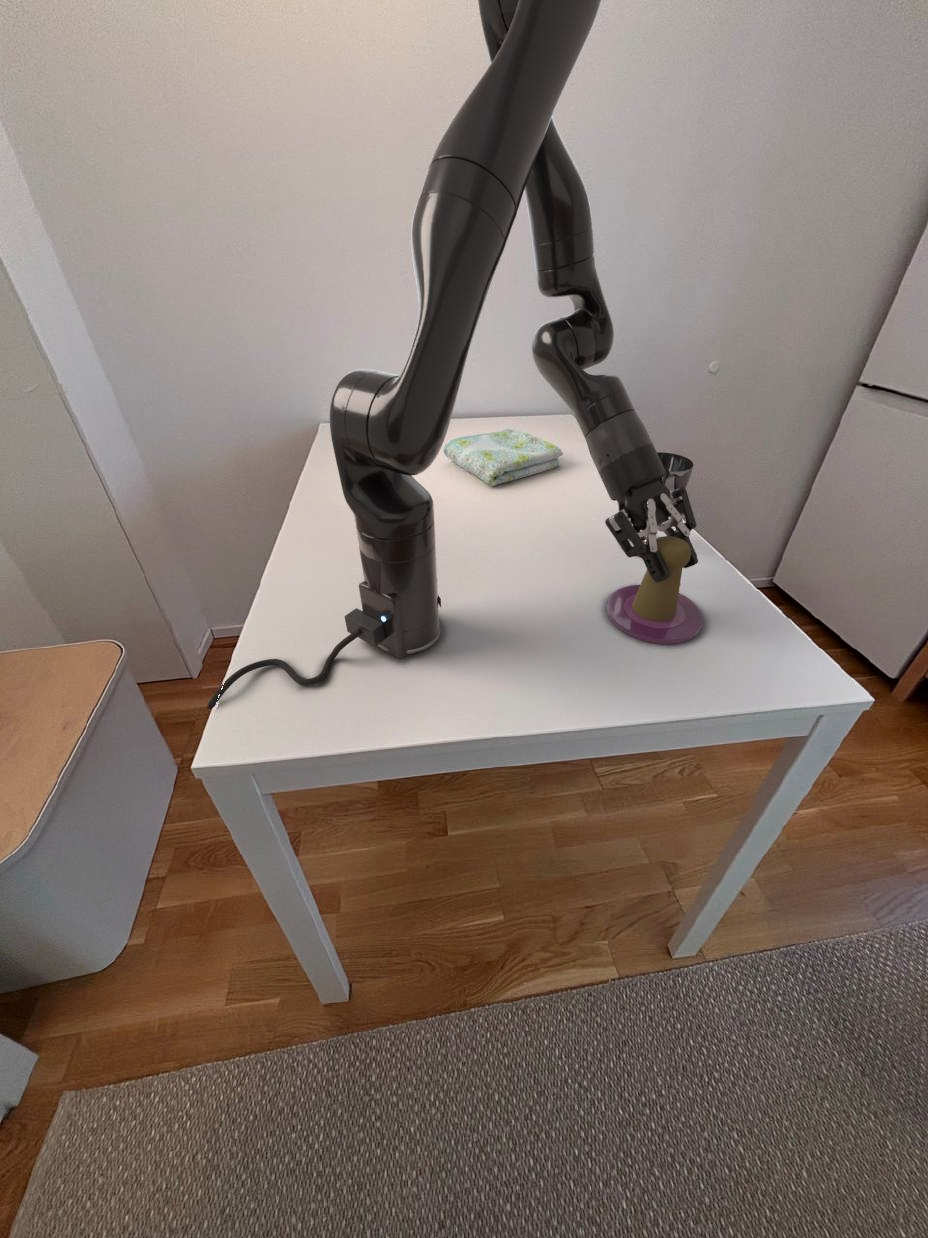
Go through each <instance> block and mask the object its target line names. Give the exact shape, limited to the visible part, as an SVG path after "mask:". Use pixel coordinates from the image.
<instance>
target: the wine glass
mask: <svg viewBox="0 0 928 1238" xmlns="http://www.w3.org/2000/svg"><path fill="white" fill-rule="evenodd" d="M656 452H657V451H656ZM657 454H658V456H659V458H660V460H661V463H662V465H663V467H664V469H665V476H664V477H663V478H662V481H663V483H664V485H665V486H666V487H667V488H668V489H669V490H676V489H678V488H680V487H685V489H686V490H687V486H688V484H689V482H690V479H691V476H692V474H693V469H694V462H693V461H692V460H691V459H690V458H688V457H686V456H683V455H681V454H678V453H677V454H676V453H671V452H664V451H663V452H661V451H660V452H657ZM627 540H628V541H629V543H630V544H631V546H632V547H633V546H634V545H633V544H632V542H631V541H630V540H629V539H627ZM645 544H647V541H646V539H645Z"/></svg>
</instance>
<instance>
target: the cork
mask: <svg viewBox="0 0 928 1238" xmlns="http://www.w3.org/2000/svg"><path fill="white" fill-rule="evenodd" d="M656 542H657V551H656V552H658V551H660V553H661V555H662V557H663V560H664V562H665V564H666V566H667V568H668V571H669V573H670V578H668V579H666V580H664V581H661V582H658V583H657V582H655V581H654V580H653V579H652V578H651V576H650V574H649V572H648V569H647V568H646V571H645V572H644V576H643V577H642V579H641V583H640V584H639V585H640V587H639V589H638V592H637V594H636V596H635V599H634V601H633V604H632V607H633V610H634V611H635V612H636V614H638V615H639V616H641V617H642V618H644V619H647V620H650V621H655V622H664V621H669V620H671V619H673V618H674V616H675V615H676V609H677V602H678V595H679V593H680V588H681V580H682V574H683V569H684V568H683V567H685V566H686V565H687V563H688V562H689V560H690V557H691V548H690V546H689V544H688V543H687V542H686V541H684V540H682V539H680V538H677V537H673V536H667V535H664V536H660V537H656Z"/></svg>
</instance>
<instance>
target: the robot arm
mask: <svg viewBox="0 0 928 1238" xmlns="http://www.w3.org/2000/svg"><path fill="white" fill-rule="evenodd" d="M477 2H478V3H477V4H478V10H479V17H480V22H481V27H482V32H483V36H484V37H483V38H484V41H485V45H486V49H487V54H488V57H489V62H490V64H489V66H488V68H487V69H486V71H484V73H483V75H482V76H481V78H480V79H479V81H478V82H477V83H476V85H475V86H474V88H473V89H472V91H471V92H470V93H469V95H468V96H467V98H466V100H465V101H464V102H463V104H462V105H461V107H460V108H459V110H458V111H457V113H456V114H455V116H454V117H453V119H452V121H451V122H450V124H449V125H448V127H447V129H446V130H445V131H444V134H443V135H442V137H441V139H440V141H439V142H438V144H437V146H436V149H435V151H434V153H433V155H432V158H431V161H430V164H429V166H428V168H427V173H426V175H425V178H424V181H423V184H422V188H421V190H420V194H419V196H418V198H417V202H416V204H415V208H414V212H413V216H412V219H411V225H410V227H411V228H410V250H411V259H412V265H413V272H414V279H415V284H416V285H415V286H416V290H417V300H418V317H417V324H416V329H415V333H414V336H413V341H412V343H411V347H410V350H409V352H408V356H407V359H406V362H405V364H404V366H403V369H402V371H401V373H400V374H398V373H393V372H389V371H383V370H379V369H378V370H377V369H371V368H357V369H354V370H351V371H349V372H347V373H346V374H344V375H343V376H342V377H341V378H340V380H338V382H337V384H336V385H335V387H334V390H333V393H332V396H331V401H330V404H329V430H330V437H331V443H332V449H333V453H334V458H335V462H336V467H337V471H338V476H339V480H340V485H341V491H342V494H343V497H344V501H345V502H346V505H347V506H348V508H349V509H350V511H351V512H352V514H353V517H354V522H355V528H356V536H357V542H358V549H359V556H360V561H361V562H360V563H361V569H362V574H363V575H362V576H363V581H361V582H359V584H358V591H359V597H360V603H361V609H359V608H357V607H356V608H354V609H352V611H350V612H348V613H347V614H346V615H344V621H345V626H346V632H347V633H349V634H348V635H347V636H346V637H345V638H343V639H342V640H341V641H340V642H339V643H337V644H336V646H334V648H333V649H332V651H331V652H330V654H329V655H328V656H327V658H326V660H325V662H324V664H323V666H322V669H321V671H320V673H318V675H316V676H314V677H310V678H309V677H308V678H305V677H302V676H300V675H299V674H298V673H297V672H296V671H295V670H294V669H293V667H292V666H291V665H290V664H288V663H287V662H286V661H284V660H283V659H280V658H268V659H262V660H259V661H255V662H252V663H249V664H247V665H245V666H243V667H241V668H239V669H238V670H236V671H235V672H234V673H233V674H231V675H230V676H229V677H228V678H227V679H225V681H224V682H225V683H224V682H223V683H224V685H223V683H222V684H221V685H220V686H219V688H218V689H216V691H215V692H214V694H213V695H212V696H211V698H210V700H209V701H208V702H207V705H206V709H207V710H210V709H213V708H215V706H216V705H217V704H216V702H217V703H219V701H220V699H221V698H222V697H223V696H224V694H225V693H226V691H227V690H229V688H230V687H231V686H233V684H234V683H235V682H236V681H238V680H239V679H240V678H242V677H243V676H244V675H246V674H248V673H250V672H252V671H255V670H257V669H261V668H264V667H265V668H266V667H270V666H277V667H280V668H281V669H282V670H284V671H285V672H286V673H287V675H288V677H290V678H291V679H292V680H293V681H294V682H295V683H297V684H298V685H301V686H314V685H316V684H319V683H321V682H322V681H324V680H325V679H326V677H327V676H328V673H329V672H330V669H331V666H332V664H333V662H334V661H335V659H336V658H337V656H338V655H339V653H340V652H342V650H343V649H344V648H346V647H347V646H348V645H349V644H350V643H352V642H353V641H354V640H356V639H360V640H361V641H364V642H365V643H367V644H369V645H371V646H373V647H375V648H376V647H377V648H379V649H380V650H382V651H383V652H386V653H388V654H390V655H391V656H393V657H395V658H397V659H400V660H401V659H403V658H405V656H407V655H414V654H418V653H421V652H423V651H426V650H428V649H429V648H431V647H432V646H433V645H434V644H435V643H436V642H438V639H439V638H440V635H441V623H440V609H439V607H440V608H442V599H441V597H440V596H439V589H438V567H437V548H436V524H435V505H434V501H433V498H432V497H433V496H432V495H431V493H430V492H429V490H427V489H426V488H425V487H424V486H423V485H422V484H421V483H420V482H419V481H417V480H416V479H415V478H414V476H417V475H419V474H421V473H423V472H425V471H426V470H428V468H430V467H431V465H432V464H433V463H434V461H435V460H436V458H437V457H438V456H439V453H440V452H441V451H440V450H442V449H441V448H442V447H443V444H444V442H445V439H446V436H447V433H448V430H449V427H450V424H451V420H452V416H453V413H454V408H455V405H456V401H457V396H458V393H459V389H460V386H461V382H462V377H463V374H464V371H465V366H466V362H467V358H468V356H469V355H468V354H469V351H470V347H471V344H472V341H473V338H474V336H475V331H476V328H477V326H478V323H479V319H480V316H481V313H482V310H483V308H484V304H485V302H486V300H487V299H486V298H487V295H488V293H489V289H490V287H491V284H492V282H493V278H494V275H495V274H496V273H495V272H496V270H497V269H498V265H499V263H500V261H501V258H502V255H503V253H504V251H505V248H506V245H507V242H508V240H509V237H510V234H511V232H512V229H513V227H514V226H513V225H514V223H515V220H516V217H517V214H518V211H519V208H520V205H521V200H522V198H523V194H524V198H525V204H526V210H527V215H528V222H529V229H530V236H531V237H530V238H531V243H532V253H533V259H534V268H535V275H536V283H537V287H538V290H539V293H541V295H542V296H544V297H546V298H555V299H556V298H565V297H569V299H570V301H571V302H572V305H573V312H570V313H568V314H565V315H561V316H560V317H557V318H553V319H551V320H549V321H546V322H544V323H543V324H541V325H540V326H539V327H538V328H537V329H536V330H535V332H534V333H533V337H532V342H531V351H532V352H531V353H532V358H533V362H534V365H535V366H536V368H537V370H538V372H539V373H540V375H541V376H542V378H543V379H544V380H545V381H546V382H547V383H548V385H549V386H550V387H551V388H552V389H553V390H554V392H555V393H556V394H557V395H558V396H559V398H561V400H562V401H563V402H564V404H565V405H566V406H568V408H569V409H570V411H571V412H572V414H573V415H574V417H575V420H576V422H577V424H578V426H579V429H580V431H581V433H582V435H583V437H584V439H585V443H586V445H587V448H588V452H589V455H590V457H591V459H592V462H593V464H594V466H595V468H596V470H597V472H598V475H599V477H600V479H601V481H602V484H603V486H604V488H605V490H606V493H607V495H608V496H609V498H610V500H611V501H613V502H614V501H616V502H617V505H618V511H617V512H616V513H615V514H613V515H611V516H609V517H607V518H606V519H605V521H604V523H605V526H606V527H607V529H608V530H609V531H610V533H611V535H612V536H613V537H614V539H615V540H616V543H618V545H619V546H620V548H621V549H622V552H624V554H625V555H626V556H627V558H630V559H631V558H633V557H638V558H640V559H642V561H643V563H644V565H645V567H646V570H647V569H648V572H649V574H650V576H651V578H652V579H653V580H654V581H655V582H657V583H658V582H661V581H664V580H666V579H668V578H670V573H669V571H668V568H667V566H666V564H665V562H664V560H663V557H662V555H661V553H660V551H658V552H656V551H657V542H656V539H657V534H658V532H661V533H664V534H665V536H673V537H677V538H680V539H682V540H684V541H686V542H687V543H688V544H689V546H690V548H691V557H690V560H689V562H688V563H687V565H686V566H685V567H683V568H682V569H687V568H691V567H693V566H696V565H697V564H699V559H698V554H697V552H696V550H695V548H694V545H693V544H692V541H691V540H690V536H691V531H692V530H694V529H696V528H697V521H696V517H695V515H694V512H693V509H692V504H691V501H690V499H689V494H688V491H687V488H686V489H685V487H680V488H678V489H676V490H669V489H668V488H667V487H666V486H665V485H664V483H663V481H662V478H663V477H664V476H665V469H664V467H663V465H662V463H661V460H660V458H659V456H658V454H657V450H656V447H655V445H654V443H653V441H652V439H651V437H650V435H649V433H648V429H647V428H646V426H645V424H644V422H643V421H642V419H641V418H640V417H639V415H638V413H637V412H636V410H635V407H634V405H633V403H632V401H631V399H630V396H629V394H628V391H627V390H626V388H625V386H624V383H623V382H622V380H621V379H620V377H619V376H618V375H616V374H612V373H605V374H590V373H588V372H586V371H585V370H586V369H589V368H591V367H594V366H597V365H599V364H601V363H602V362H604V361H605V360H606V359H607V358H608V356H609V355H610V353H611V350H612V347H613V345H614V338H615V333H614V331H615V330H614V325H613V324H614V323H613V320H612V317H611V313H610V311H609V309H608V305H607V302H606V300H605V297H604V292H603V290H602V286H601V283H600V279H599V276H598V273H597V272H598V271H597V268H596V262H595V260H596V259H595V246H594V245H595V243H594V230H593V217H592V215H593V214H592V208H591V202H590V197H589V194H588V190H587V186H586V184H585V182H584V180H583V177H582V175H581V172H580V170H579V169H578V167H577V165H576V163H575V160H574V158H573V157H572V155H571V153H570V152H569V149H568V148H567V146H566V144H565V142H564V140H563V137H562V136H561V134H560V132H559V129H558V126H557V124H556V122H555V118H554V117H553V116H554V113H555V110H556V108H557V106H558V104H559V101H560V99H561V96H562V94H563V92H564V90H565V88H566V85H567V83H568V81H569V79H570V77H571V74H572V73H573V71H574V68H575V66H576V64H577V62H578V59H579V58H580V56H581V53H582V52H583V49H584V48H585V46H586V43H587V42H588V41H587V40H588V39H589V36H590V34H591V31H592V30H593V27H594V25H595V22H596V20H597V17H598V16H599V15H598V14H599V12H600V9H601V7H602V3H603V0H477ZM683 516H684V519H685V522H684V521H683ZM674 528H675V530H674ZM627 539H629V540H630V541H631V542H632V544H633V545H634V546H633V547H632V546H631V544H630V543H629V541H628V540H627ZM645 539H646V541H647V544H645ZM222 686H223V689H222V690H221V688H222ZM219 694H220V696H219V698H218V695H219ZM217 699H218V700H217Z"/></svg>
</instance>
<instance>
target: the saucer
mask: <svg viewBox="0 0 928 1238" xmlns="http://www.w3.org/2000/svg"><path fill="white" fill-rule="evenodd" d="M640 585H641V584H632V585H631V584H630V585H627V586H624V587H621V588H618V589H617V590H615V591H614V592H613V593H612V594H611V595H610V596H609V598H608V601H607V605H606V613H607V615H608V618H609V620H610V621H611V622H612V624H613V625H614V626H615V627H617V629H619V630H620V631H621V632H623V633H624V634H625V635H628V636H630V637H632V638H634V639H637V640H639V641H643V642H646V643H651V644H658V645H674V644H675V645H677V644H681V643H685V642H688V641H689V640H692V639H693V638H694V637H695V636H697V635H698V634H699V632H700V630H701V628H702V626H703V622H704V621H703V613H702V612H701V609H700V608H699V607H698V606H697V604H696V603H695V602H693V601H692V599H690V598H688V597H687V596H685V595H684V594H681V593H680V592H679V595H678V602H677V609H676V615H675V616H674V618H673V619H671V620H669V621H664V622H655V621H650V620H647V619H644V618H642V617H641V616H639V615H638V614H636V612H635V611H634V610H633V607H632V604H633V601H634V599H635V596H636V594H637V592H638V589H639V587H640Z"/></svg>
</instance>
